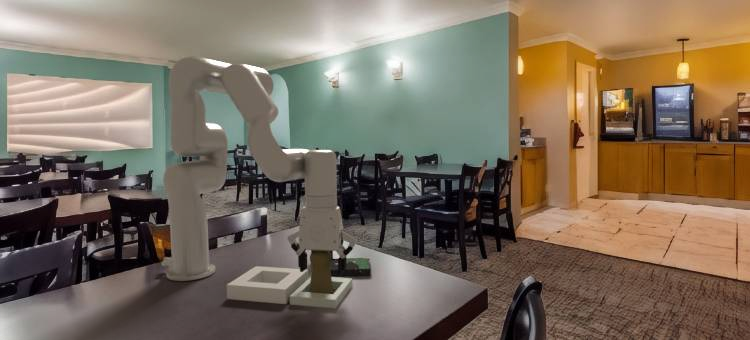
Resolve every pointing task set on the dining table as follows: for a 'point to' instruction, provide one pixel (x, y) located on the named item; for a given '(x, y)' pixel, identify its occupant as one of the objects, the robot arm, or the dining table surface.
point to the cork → (321, 272)
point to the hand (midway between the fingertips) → (322, 271)
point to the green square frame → (321, 294)
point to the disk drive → (352, 267)
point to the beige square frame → (267, 284)
